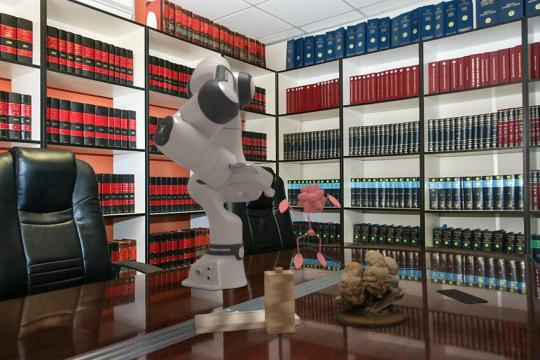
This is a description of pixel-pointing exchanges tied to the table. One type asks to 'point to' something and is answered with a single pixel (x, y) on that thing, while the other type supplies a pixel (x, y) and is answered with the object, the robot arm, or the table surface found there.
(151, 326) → the table surface
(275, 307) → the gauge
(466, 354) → the table surface
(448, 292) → the smartphone
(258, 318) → the board
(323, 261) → the figurine
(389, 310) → the carved stone sculpture
